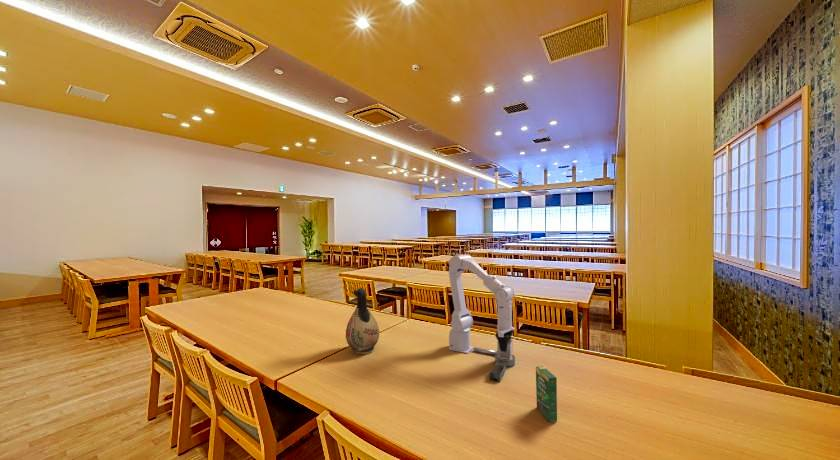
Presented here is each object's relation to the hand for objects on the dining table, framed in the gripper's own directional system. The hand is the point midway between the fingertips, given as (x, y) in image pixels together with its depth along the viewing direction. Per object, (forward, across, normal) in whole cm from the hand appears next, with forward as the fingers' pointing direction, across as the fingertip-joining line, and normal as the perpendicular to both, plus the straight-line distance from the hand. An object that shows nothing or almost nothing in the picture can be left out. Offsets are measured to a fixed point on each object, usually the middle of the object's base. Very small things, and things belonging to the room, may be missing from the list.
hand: (504, 348), depth 128 cm
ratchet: (+6, -6, 0) cm, 9 cm away
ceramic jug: (+6, -17, +61) cm, 64 cm away
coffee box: (+6, -29, -19) cm, 35 cm away
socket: (+2, 0, 0) cm, 2 cm away
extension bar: (+6, +6, +10) cm, 13 cm away
